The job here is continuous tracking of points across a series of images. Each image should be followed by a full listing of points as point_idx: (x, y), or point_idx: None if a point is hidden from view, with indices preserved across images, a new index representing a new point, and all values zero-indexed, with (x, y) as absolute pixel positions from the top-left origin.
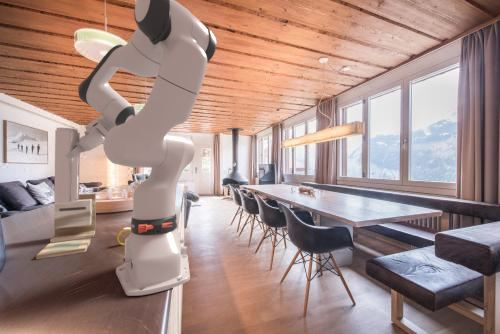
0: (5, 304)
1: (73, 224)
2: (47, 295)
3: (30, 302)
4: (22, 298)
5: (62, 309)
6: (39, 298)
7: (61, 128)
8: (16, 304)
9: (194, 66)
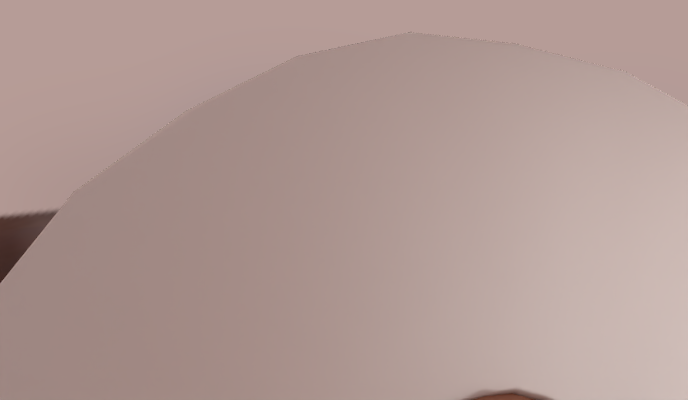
0: (34, 213)
1: None
2: (8, 271)
3: (2, 247)
4: (36, 234)
5: None
6: (7, 259)
7: (75, 233)
8: (16, 228)
9: None
